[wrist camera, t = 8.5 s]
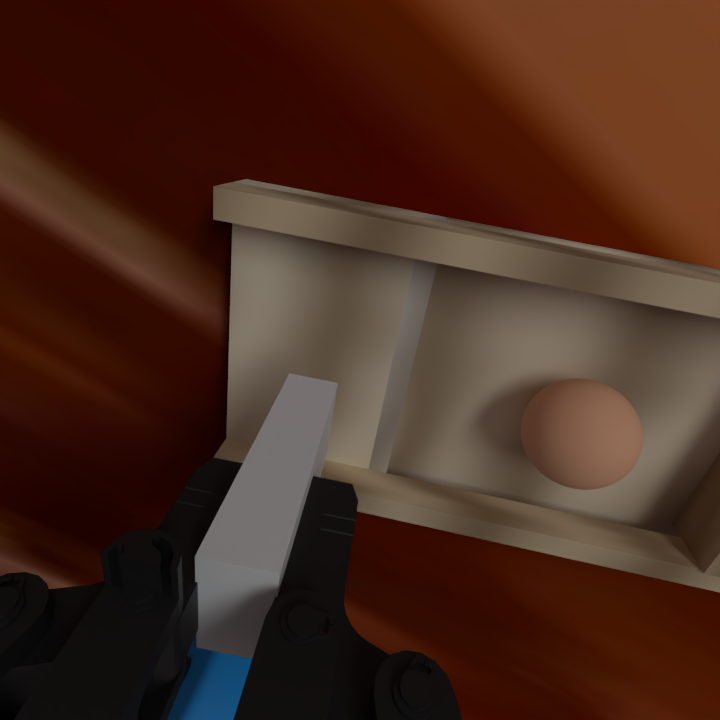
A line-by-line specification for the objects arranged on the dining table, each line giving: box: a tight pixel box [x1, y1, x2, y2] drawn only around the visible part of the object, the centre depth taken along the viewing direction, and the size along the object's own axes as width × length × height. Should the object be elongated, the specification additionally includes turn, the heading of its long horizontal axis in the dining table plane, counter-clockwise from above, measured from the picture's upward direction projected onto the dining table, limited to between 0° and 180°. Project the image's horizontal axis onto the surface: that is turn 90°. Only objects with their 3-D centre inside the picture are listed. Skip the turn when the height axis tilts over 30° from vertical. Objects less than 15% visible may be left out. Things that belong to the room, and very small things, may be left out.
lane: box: [213, 179, 720, 592], centre depth 17 cm, size 22×12×3 cm, turn 81°
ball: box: [521, 379, 643, 490], centre depth 16 cm, size 4×4×4 cm
